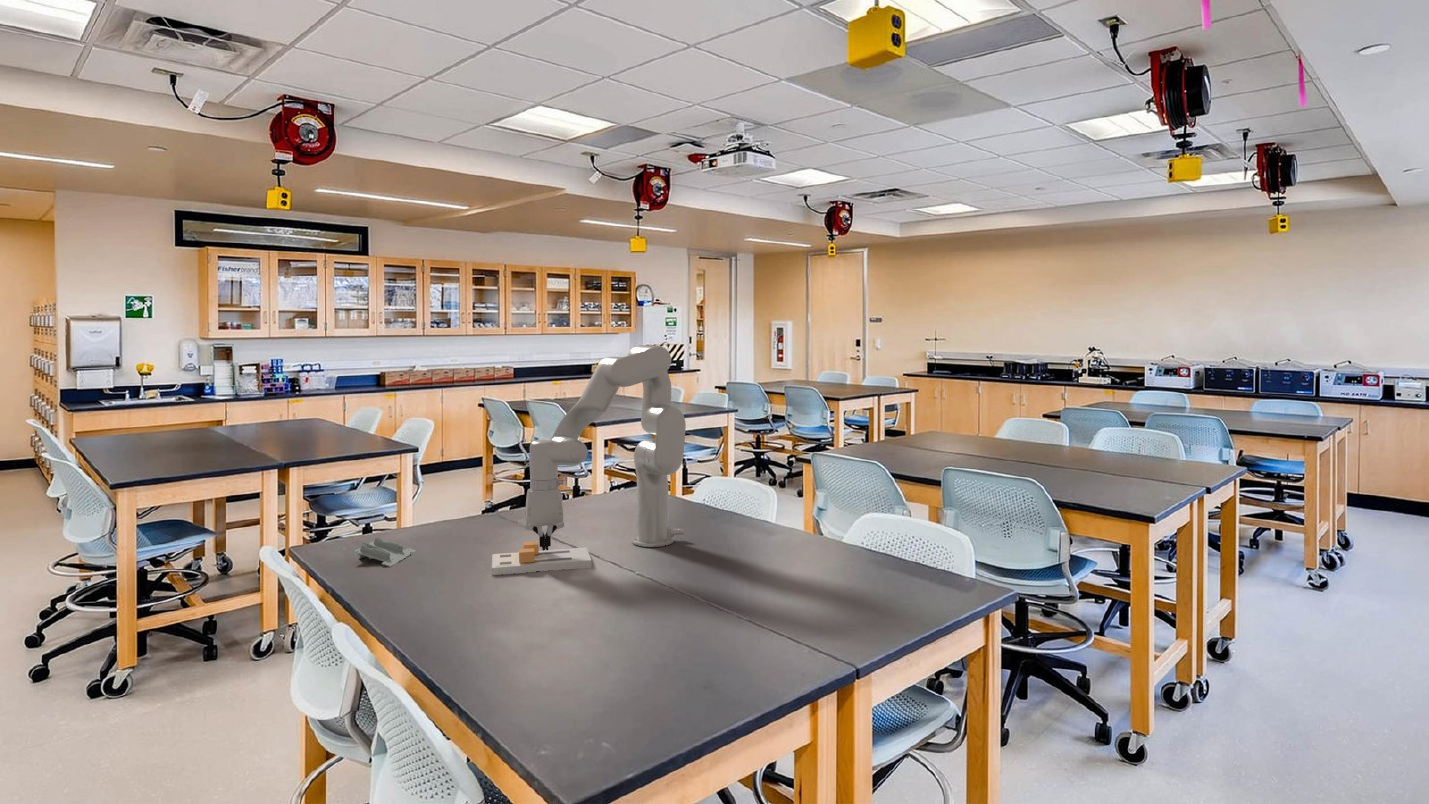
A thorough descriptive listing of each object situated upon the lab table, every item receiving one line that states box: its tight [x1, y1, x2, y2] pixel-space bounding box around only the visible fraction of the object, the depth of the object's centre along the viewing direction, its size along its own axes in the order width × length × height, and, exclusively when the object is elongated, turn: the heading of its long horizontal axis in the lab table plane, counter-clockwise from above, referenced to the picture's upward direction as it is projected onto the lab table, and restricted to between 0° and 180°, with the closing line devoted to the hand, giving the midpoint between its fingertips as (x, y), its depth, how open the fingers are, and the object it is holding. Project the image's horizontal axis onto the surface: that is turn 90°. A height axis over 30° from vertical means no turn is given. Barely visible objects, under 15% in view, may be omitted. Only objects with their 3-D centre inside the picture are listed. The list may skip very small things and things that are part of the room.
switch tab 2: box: [518, 548, 535, 563], centre depth 205 cm, size 4×4×3 cm
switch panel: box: [491, 547, 592, 576], centre depth 210 cm, size 26×13×2 cm, turn 106°
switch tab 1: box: [522, 540, 540, 554], centre depth 213 cm, size 4×4×3 cm
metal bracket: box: [353, 537, 417, 568], centre depth 216 cm, size 14×6×15 cm
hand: (545, 549), depth 214 cm, fingers closed
